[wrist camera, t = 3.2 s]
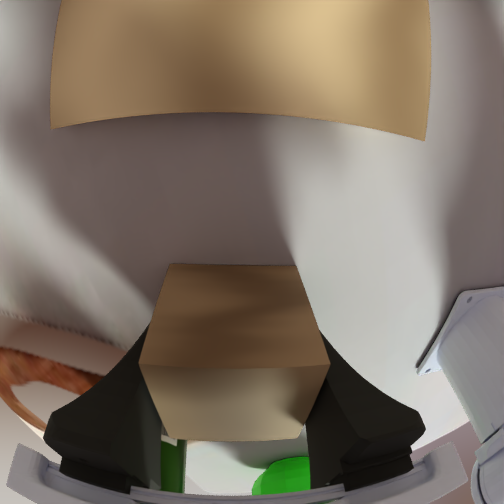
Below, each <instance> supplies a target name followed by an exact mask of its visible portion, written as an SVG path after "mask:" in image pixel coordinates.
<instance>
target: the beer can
mask: <svg viewBox="0 0 504 504" xmlns="http://www.w3.org/2000/svg"><path fill="white" fill-rule="evenodd" d="M186 451H187V440H184V439H173V438H170V437H169V435H168V433H167V431H166V429H165V427H164V424H163V422H162V432H161V464H160V466H161V489H160V490H159V491H166V492H174V493H183V494H184V491H185V490H184V489H185V468H186ZM137 503H138V502H137ZM139 504H143V503H139Z"/></svg>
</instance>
